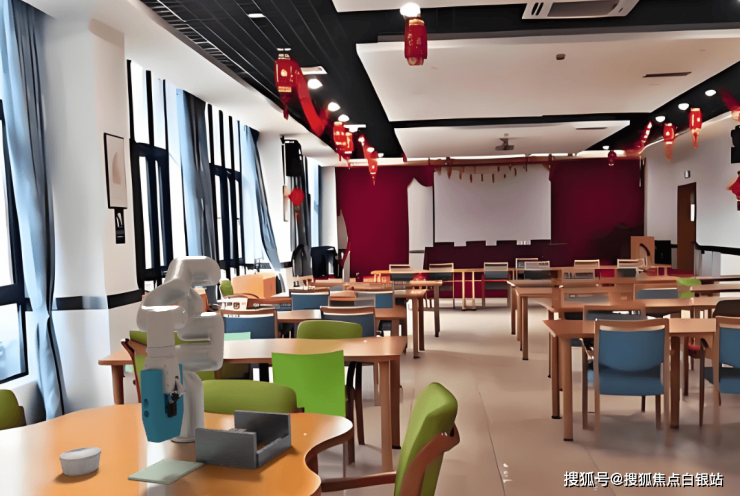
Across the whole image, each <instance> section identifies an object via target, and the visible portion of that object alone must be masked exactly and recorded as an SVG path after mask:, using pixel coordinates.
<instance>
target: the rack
mask: <svg viewBox="0 0 740 496" xmlns="http://www.w3.org/2000/svg"><path fill="white" fill-rule="evenodd" d="M233 419H234V422H233V423H234V428H236V429H247V432H242V431H230V430H229V429H228V430H227V429H218V428H217V429H216V428H207V427H205V428H197V429H195V441H194V442H195V443H194V444H195V462H198V463H203V465H211V466H221V467H230V468H239V469H247V470H256V469H257V468H261V467H262V466H264V465H265V464H267V463H269V462H270V461H271V460H273V459H274V458H276V457H278V455H280V454H282V453H284V452H285V451H286V450H288V449H289V448H291V446H292V428H291V427H292V426H291V423H292V421H291V419H292V418H291V413H284V412H271V411H255V410H243V409H242V410H241V409H235V410H234V411H233ZM257 445H265V446H263V447H262V448H260V449H258V450H257V447H258V446H257Z"/></svg>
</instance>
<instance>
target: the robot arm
mask: <svg viewBox="0 0 740 496" xmlns="http://www.w3.org/2000/svg"><path fill="white" fill-rule="evenodd" d="M221 277H222V276H221V268H220V266H219V263H218V262H217V261H216V260H214V259H213V258H211V257H209V256H205V255H196V256H195V255H194V256H179V257H176V258H173V259H172V260H171V261H170V263H169V265H168V269H167V271H166V274H165V278H164V280H163V283H162V284H160V285H159V286H156V287H155V288H153V289H152V290H150V291H149V292H147V293H146V295H144V297H143V298H142V300H141V302H140V305H139V307H138V310H137V313H136V326H137V328H138V329H139V330H140V331H141V332H144V333H146V348H145V350H144V351H145V353H146V355H147V356H146V357H145V358H144V362H143V369H142V370H146V369H155V370H162V393H163V394H167V397H168V400H169V403H168V404H167V408H168V417H169V418H171V417H173V416H176V415H177V401H178V400H179V398H180V397H181V395H182V394H183V400H184V413H183V420H182V426H181V433H180V436H177V437H174V438H172V439H170V440H171V441H173V442H175V443H191V442H195V429H197V428H206V426H205V423H206V422H205V401H204V400H205V399H204V398H205V397H204V384H203V380H202V379H201V377H200V376H199V375H198V374H197V372H208V371H209V372H211V371H212V372H213V371H219V370H220V369H221V368H222V367H223V363H224V354H225V353H224V350H225V348H224V347H225V322H224V318H223V316H222V315H221V314H220V313H219V312H213V311H212V312H210V311H209V312H204V299H203V298H202V296H201V295H200V293H199V292H198V291H197V290H195V289H194V288H193V287H209V286H216V285H218V284H219V282H220V280H221ZM177 303H178V304H177ZM174 304H177V305H174ZM175 332H176V335H177V337H178V339H179V340H181V341H186V342H188V341H189V343H180V344H177V345H176V341H175V340H176V338H175ZM193 341H209V342H193ZM179 364H182V371H183V385H182V384H181V381H180V370H179ZM139 389H140V391H141V387H140V388H139ZM177 390H178V392H176V391H177ZM172 395H173V397H172Z"/></svg>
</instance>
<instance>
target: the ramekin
mask: <svg viewBox="0 0 740 496" xmlns="http://www.w3.org/2000/svg"><path fill="white" fill-rule="evenodd" d="M101 454H102V449H101V448H100V447H96V446H87V447H77V448H73V449H70V450H66V451H64V452H62V453H61V454H60V455H58V457H59V458H58V459H59V461H60V462H59V463H60V465H61V469H62V474H65V475H66V476H68V477H69V476H70V477H74V476H83V475H86V474H90V473H93V472H95V471H96V470H97V469H98V468H99V466H100V461H101Z"/></svg>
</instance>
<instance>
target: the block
mask: <svg viewBox="0 0 740 496" xmlns="http://www.w3.org/2000/svg"><path fill="white" fill-rule="evenodd" d="M179 370H180V381H181V384H182V385H183V371H182V364H179ZM139 373H140V374H139V375H140V388H141V390H140V401H141V405H140V406H141V421H142V424H143V428H144V431H145V436H146V439H147V442H149V443H154V444H155V443H156V444H159V443H163V442H165V441H169V440H171V439H172V438H174V437H177V436H180V433H181V426H182V420H183V413H184V400H183V394H182V395H181V397H180V398H179V400H178V401H177V415H176V416H173V417H171V418H169V417H168V408H167V404H168V403H169V400H168V397H167V394H163V393H162V370H155V369H146V370H143V369H142V370H140V371H139ZM176 392H178V390H177V391H176ZM172 397H173V395H172Z"/></svg>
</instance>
